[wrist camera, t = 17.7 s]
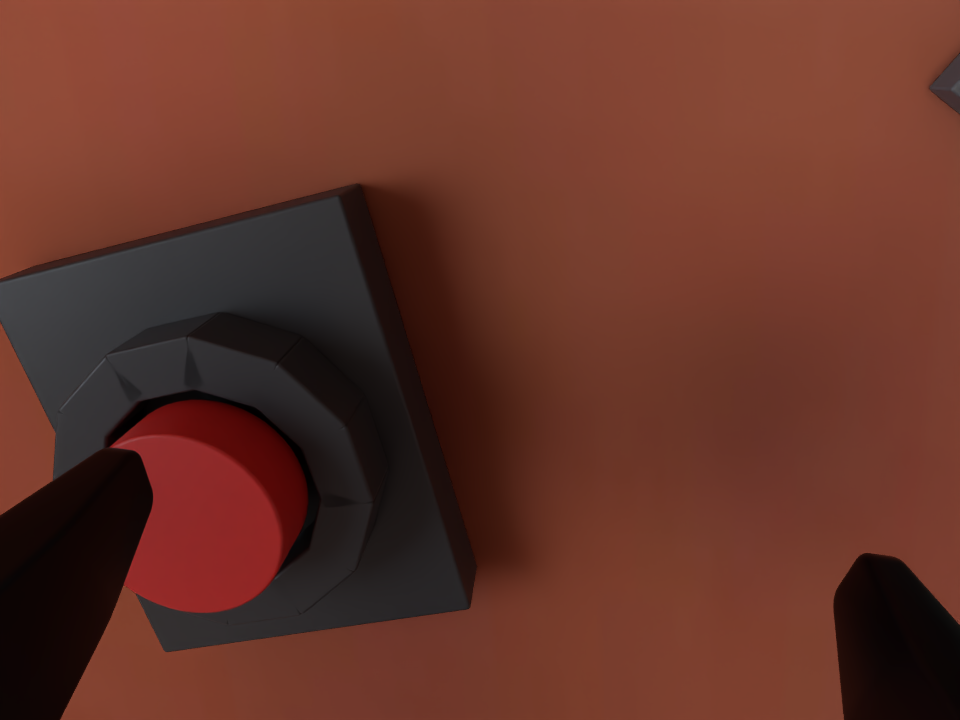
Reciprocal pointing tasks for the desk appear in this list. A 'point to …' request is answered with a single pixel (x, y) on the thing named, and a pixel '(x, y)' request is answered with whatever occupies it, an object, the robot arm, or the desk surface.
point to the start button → (213, 505)
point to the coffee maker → (949, 85)
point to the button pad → (263, 398)
